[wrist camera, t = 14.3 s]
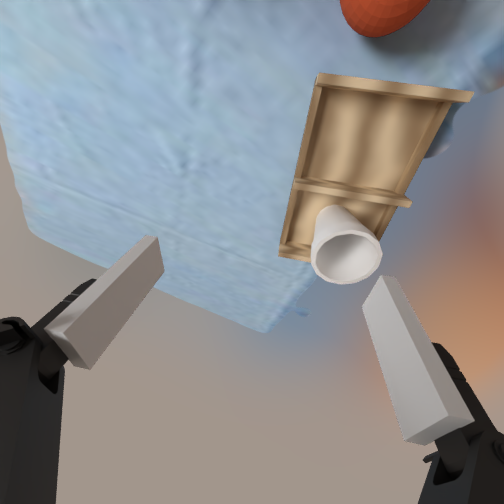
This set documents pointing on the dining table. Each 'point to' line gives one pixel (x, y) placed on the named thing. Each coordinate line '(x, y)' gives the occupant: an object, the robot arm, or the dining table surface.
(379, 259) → the foam cup
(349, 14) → the tomato
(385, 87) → the rack
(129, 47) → the dining table surface
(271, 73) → the dining table surface
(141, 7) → the dining table surface
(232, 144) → the dining table surface
